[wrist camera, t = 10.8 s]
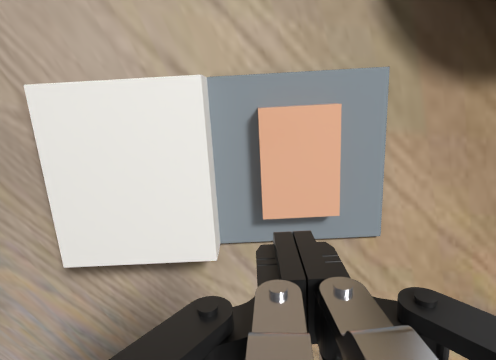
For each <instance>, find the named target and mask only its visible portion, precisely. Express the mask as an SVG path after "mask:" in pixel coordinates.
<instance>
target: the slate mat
mask: <svg viewBox="0 0 496 360" xmlns="http://www.w3.org/2000/svg"><path fill="white" fill-rule="evenodd" d="M388 85H389V67H376V68H358V69H340V70H323V71H305V72H288V73H270V74H253V75H235V76H218V77H207V86H208V98H209V111H210V123H211V135H212V147H213V159H214V171H215V184H216V196H217V208H218V220H219V232H220V243H240V242H261V241H273V232H290V231H291V232H292V231H309V230H311V232H312V234H313V236H314V238H315V239H325V238H347V237H368V236H380V234H381V216H382V197H383V178H384V160H385V141H386V123H387V104H388ZM330 103H338V104H342V107H341V162H340V216H325V217H304V218H284V219H263V214H262V194H261V173H260V151H259V129H258V107H276V106H294V105H312V104H330Z"/></svg>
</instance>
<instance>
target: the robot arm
mask: <svg viewBox="0 0 496 360" xmlns="http://www.w3.org/2000/svg"><path fill="white" fill-rule="evenodd" d="M256 261H257V283H258V288H257V289H256V293H255V297H254V298H253V299H251V300H250V301H248V302H247V303H245V304H242V305H239V306H235V307H232V305H231V303H230V302H229V301H228V300H226V299H225V298H222V297H218V296H208V297H202V298H199V299H197V300H195V301H193V302H191V303H190V304H188V305H187V306H186V307H184V308H183V309H181V310H180V311H178V312H177V313H176V314H174V315H173V316H171V317H170V318H168V319H167V320H165V321H164V322H163V323H161V324H160V325H158V326H157V327H155V328H154V329H152V330H151V331H150V332H148V333H147V334H145V335H144V336H142V337H141V338H139V339H138V340H137V341H135V342H134V343H132V344H131V345H129V346H128V347H126V348H125V349H124V350H122V351H121V352H119V353H118V354H116V355H115V356H113V357H112V358H111V359H109V360H314V359H313V352H312V345H311V344H318V346H319V360H448V358H449V350H452V351H454V352H456V353H458V354H460V355H461V356H463V357H465V358H467V359H469V360H496V316H494V315H492V314H489V313H487V312H485V311H482V310H480V309H477V308H475V307H472V306H470V305H467V304H465V303H463V302H460V301H458V300H455V299H453V298H450V297H448V296H446V295H443V294H441V293H438V292H436V291H433V290H430V289H426V288H419V287H411V288H406V289H403V290H402V291H400V292H399V294H398V301H394V300H387V299H381V298H376V297H373V296H371V294H370V293H369V292H368V290H367V289H366V287H365V286H364V285H363V284H361V283H360V282H358V281H356V280H354V279H351V278H350V276H349V274H348V272H347V271H346V269H345V267H344V265H343V263H342V262H341V260H340V258H339V256H338V254H337V252H336V251H335V249H334V247H332V246H331V245H329V244H328V243H326V242H316V241H315V238H314V236H313V234H312V232H311V230H309V231H292V232H291V231H290V232H273V244H270V245H261V246H260V247H259V248H258V250H257V251H256Z"/></svg>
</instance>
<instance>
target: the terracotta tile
mask: <svg viewBox="0 0 496 360" xmlns="http://www.w3.org/2000/svg"><path fill="white" fill-rule="evenodd" d="M341 107H342V104H338V103H330V104H312V105H294V106H276V107H258V129H259V151H260V173H261V194H262V214H263V219H284V218H304V217H325V216H340V162H341Z"/></svg>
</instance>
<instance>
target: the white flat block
mask: <svg viewBox="0 0 496 360" xmlns="http://www.w3.org/2000/svg"><path fill="white" fill-rule="evenodd" d="M24 89H25V94H26V98H27V103H28V107H29V112H30V116H31V121H32V126H33V130H34V135H35V139H36V144H37V148H38V153H39V157H40V162H41V166H42V171H43V175H44V180H45V185H46V189H47V194H48V198H49V203H50V207H51V212H52V216H53V221H54V225H55V230H56V234H57V239H58V244H59V248H60V253H61V257H62V262H63V266H64V268H66V267H88V266H110V265H132V264H153V263H175V262H197V261H217V258H218V253H219V248H220V232H219V220H218V208H217V196H216V184H215V171H214V159H213V147H212V135H211V123H210V111H209V98H208V86H207V77H205V76H203V75H188V76H170V77H153V78H135V79H118V80H100V81H83V82H65V83H48V84H30V85H24Z"/></svg>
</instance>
